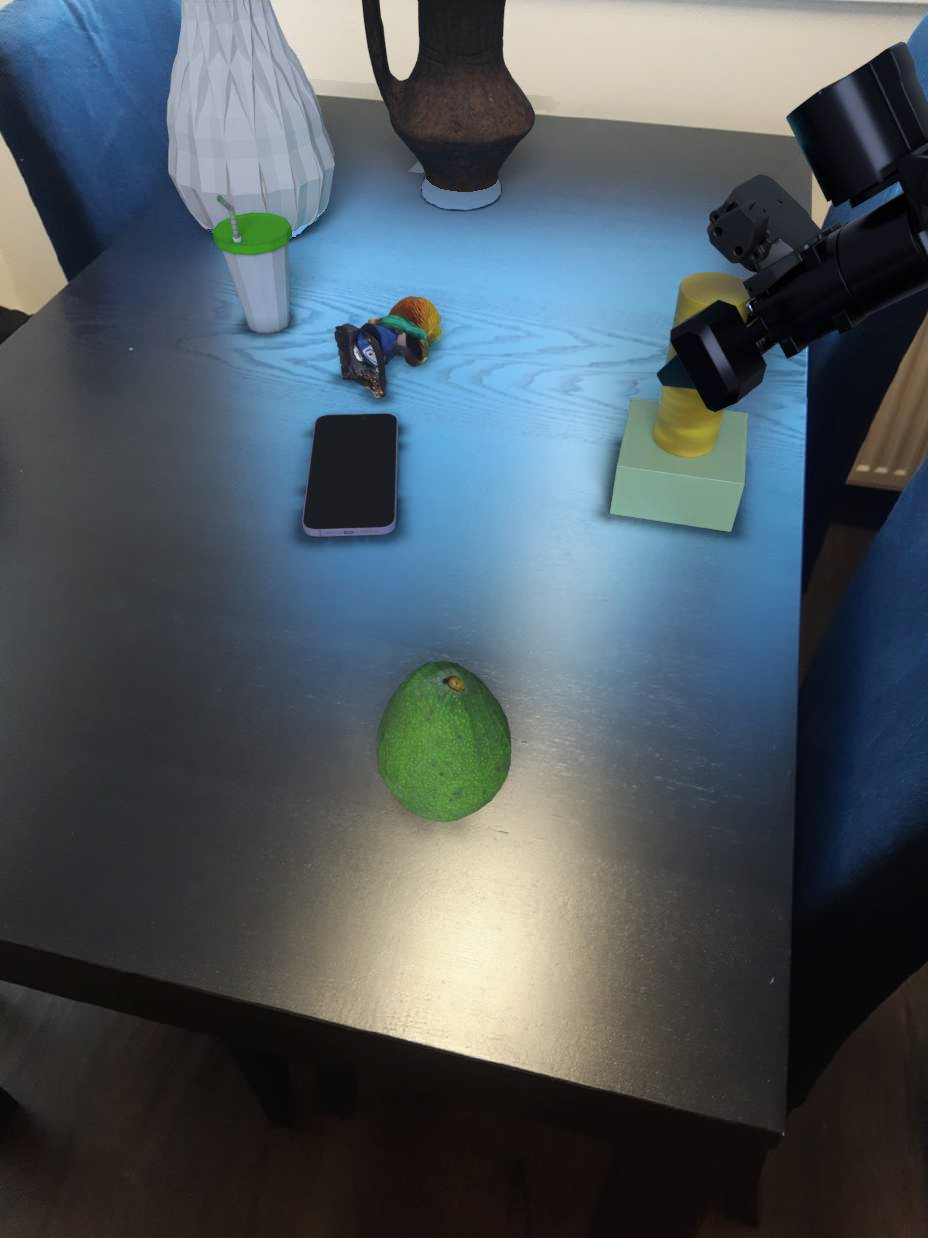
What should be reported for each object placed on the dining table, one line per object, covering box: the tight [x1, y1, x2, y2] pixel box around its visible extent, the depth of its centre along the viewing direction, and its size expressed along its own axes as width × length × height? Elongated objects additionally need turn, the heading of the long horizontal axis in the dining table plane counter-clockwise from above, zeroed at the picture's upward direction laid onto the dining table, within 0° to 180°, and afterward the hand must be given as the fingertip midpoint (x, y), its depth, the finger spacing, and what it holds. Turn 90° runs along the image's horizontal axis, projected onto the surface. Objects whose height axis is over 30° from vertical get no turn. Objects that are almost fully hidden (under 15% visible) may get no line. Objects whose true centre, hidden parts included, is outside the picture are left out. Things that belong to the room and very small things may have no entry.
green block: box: [609, 397, 749, 533], centre depth 75 cm, size 10×10×5 cm
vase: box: [166, 0, 336, 232], centre depth 102 cm, size 20×20×30 cm
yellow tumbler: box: [653, 271, 752, 457], centre depth 68 cm, size 5×5×13 cm
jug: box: [361, 0, 536, 192], centre depth 109 cm, size 21×18×30 cm
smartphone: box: [301, 412, 399, 538], centre depth 77 cm, size 8×1×16 cm
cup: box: [211, 195, 292, 335], centre depth 91 cm, size 8×8×15 cm
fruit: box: [375, 660, 512, 823], centre depth 51 cm, size 8×8×12 cm
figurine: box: [333, 295, 443, 399], centre depth 88 cm, size 11×8×6 cm, turn 128°
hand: (684, 361), depth 69 cm, fingers open, 6 cm apart
